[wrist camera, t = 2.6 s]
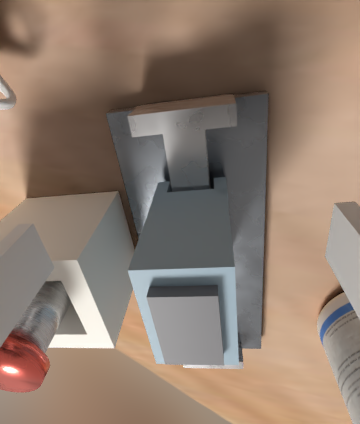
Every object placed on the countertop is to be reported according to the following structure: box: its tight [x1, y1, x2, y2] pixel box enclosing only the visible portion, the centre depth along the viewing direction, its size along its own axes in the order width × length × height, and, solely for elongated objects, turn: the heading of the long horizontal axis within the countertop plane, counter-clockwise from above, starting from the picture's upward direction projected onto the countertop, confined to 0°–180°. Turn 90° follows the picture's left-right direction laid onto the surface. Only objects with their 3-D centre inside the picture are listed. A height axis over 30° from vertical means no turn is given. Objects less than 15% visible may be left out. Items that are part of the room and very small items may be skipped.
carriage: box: [128, 177, 239, 365], centre depth 17 cm, size 7×5×9 cm, turn 8°
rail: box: [106, 91, 269, 369], centre depth 23 cm, size 25×10×3 cm, turn 8°
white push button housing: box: [0, 191, 135, 348], centre depth 21 cm, size 8×8×8 cm
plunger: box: [0, 281, 72, 392], centre depth 18 cm, size 4×4×8 cm
